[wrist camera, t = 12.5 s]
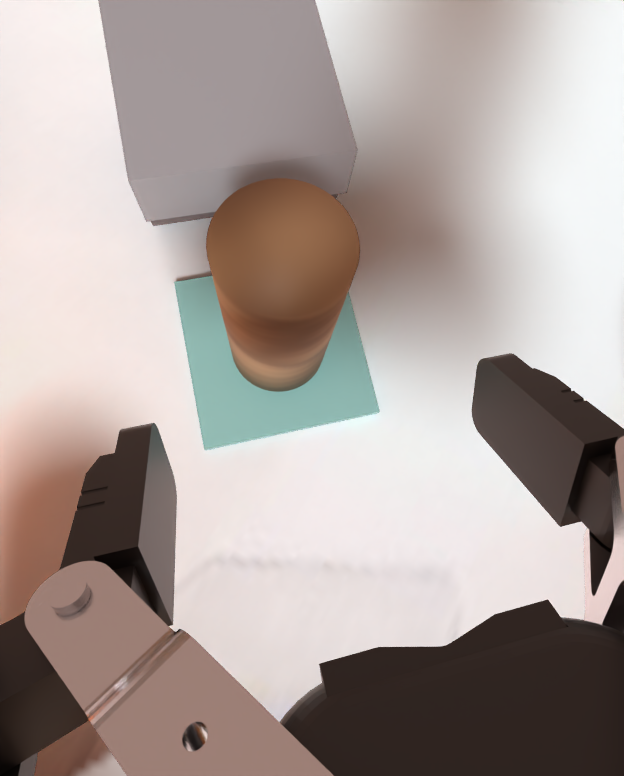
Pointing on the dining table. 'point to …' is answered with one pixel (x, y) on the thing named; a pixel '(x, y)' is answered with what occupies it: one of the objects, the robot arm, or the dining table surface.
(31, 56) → the dining table surface
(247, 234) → the roller
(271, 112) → the grey roller platform
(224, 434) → the teal pad
